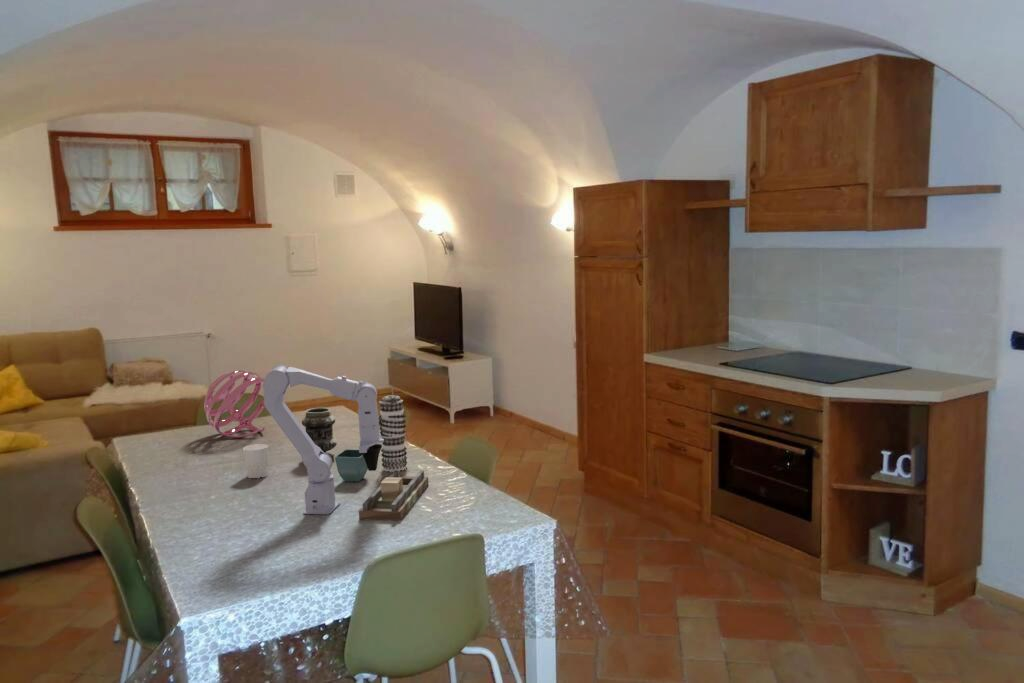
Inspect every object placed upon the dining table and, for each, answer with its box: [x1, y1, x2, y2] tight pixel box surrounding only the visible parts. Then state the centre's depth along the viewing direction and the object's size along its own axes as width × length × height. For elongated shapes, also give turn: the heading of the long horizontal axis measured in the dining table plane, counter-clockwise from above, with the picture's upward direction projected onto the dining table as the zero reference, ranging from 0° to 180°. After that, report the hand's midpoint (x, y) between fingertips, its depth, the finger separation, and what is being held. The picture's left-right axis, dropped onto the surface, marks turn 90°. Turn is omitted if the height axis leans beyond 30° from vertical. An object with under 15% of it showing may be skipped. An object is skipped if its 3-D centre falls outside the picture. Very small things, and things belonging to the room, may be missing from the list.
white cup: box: [242, 443, 269, 479], centre depth 261 cm, size 8×8×10 cm
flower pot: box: [334, 448, 369, 483], centre depth 253 cm, size 9×9×9 cm
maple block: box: [380, 476, 403, 499], centre depth 227 cm, size 5×5×5 cm
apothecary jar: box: [301, 407, 338, 460], centre depth 279 cm, size 12×12×18 cm
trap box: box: [358, 470, 429, 521], centre depth 231 cm, size 32×12×4 cm, turn 172°
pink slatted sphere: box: [203, 369, 266, 439], centre depth 318 cm, size 28×28×27 cm
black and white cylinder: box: [378, 394, 408, 473], centre depth 263 cm, size 9×9×25 cm
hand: (372, 470), depth 228 cm, fingers closed
